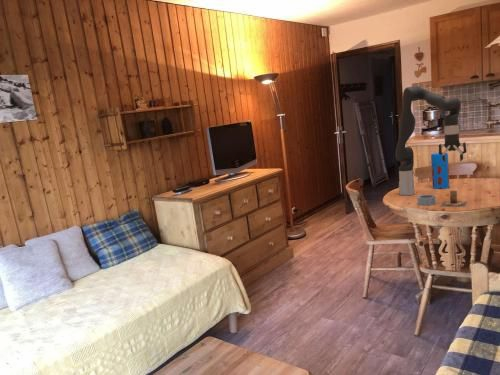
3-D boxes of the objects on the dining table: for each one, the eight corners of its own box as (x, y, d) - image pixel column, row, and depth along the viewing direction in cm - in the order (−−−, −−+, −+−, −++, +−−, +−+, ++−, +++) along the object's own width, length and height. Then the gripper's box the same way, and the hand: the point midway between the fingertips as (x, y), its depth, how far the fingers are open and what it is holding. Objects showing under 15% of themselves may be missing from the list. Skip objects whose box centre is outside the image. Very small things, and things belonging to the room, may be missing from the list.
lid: (442, 206, 228) (441, 193, 226) (445, 201, 236) (444, 189, 235) (463, 206, 221) (462, 193, 220) (465, 201, 230) (465, 189, 229)
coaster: (439, 207, 228) (439, 206, 227) (443, 202, 238) (443, 201, 238) (464, 207, 220) (464, 206, 220) (467, 202, 230) (467, 201, 230)
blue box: (448, 189, 271) (446, 153, 267) (431, 189, 277) (430, 154, 273) (449, 186, 280) (448, 152, 276) (433, 186, 286) (432, 153, 282)
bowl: (416, 206, 237) (415, 198, 236) (419, 202, 245) (419, 194, 244) (434, 206, 231) (433, 198, 230) (437, 202, 239) (436, 194, 238)
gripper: (437, 135, 223) (438, 162, 226) (464, 132, 215) (466, 161, 218) (439, 133, 230) (440, 160, 232) (466, 131, 221) (467, 159, 224)
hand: (452, 161), depth 225 cm, fingers open, 8 cm apart
